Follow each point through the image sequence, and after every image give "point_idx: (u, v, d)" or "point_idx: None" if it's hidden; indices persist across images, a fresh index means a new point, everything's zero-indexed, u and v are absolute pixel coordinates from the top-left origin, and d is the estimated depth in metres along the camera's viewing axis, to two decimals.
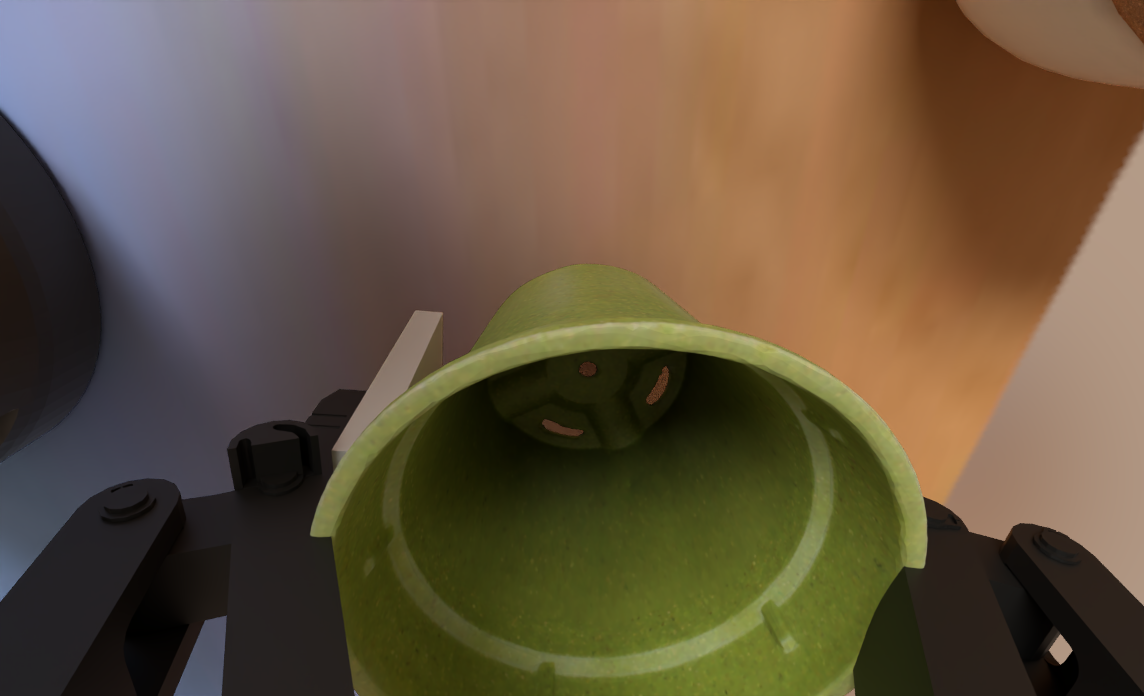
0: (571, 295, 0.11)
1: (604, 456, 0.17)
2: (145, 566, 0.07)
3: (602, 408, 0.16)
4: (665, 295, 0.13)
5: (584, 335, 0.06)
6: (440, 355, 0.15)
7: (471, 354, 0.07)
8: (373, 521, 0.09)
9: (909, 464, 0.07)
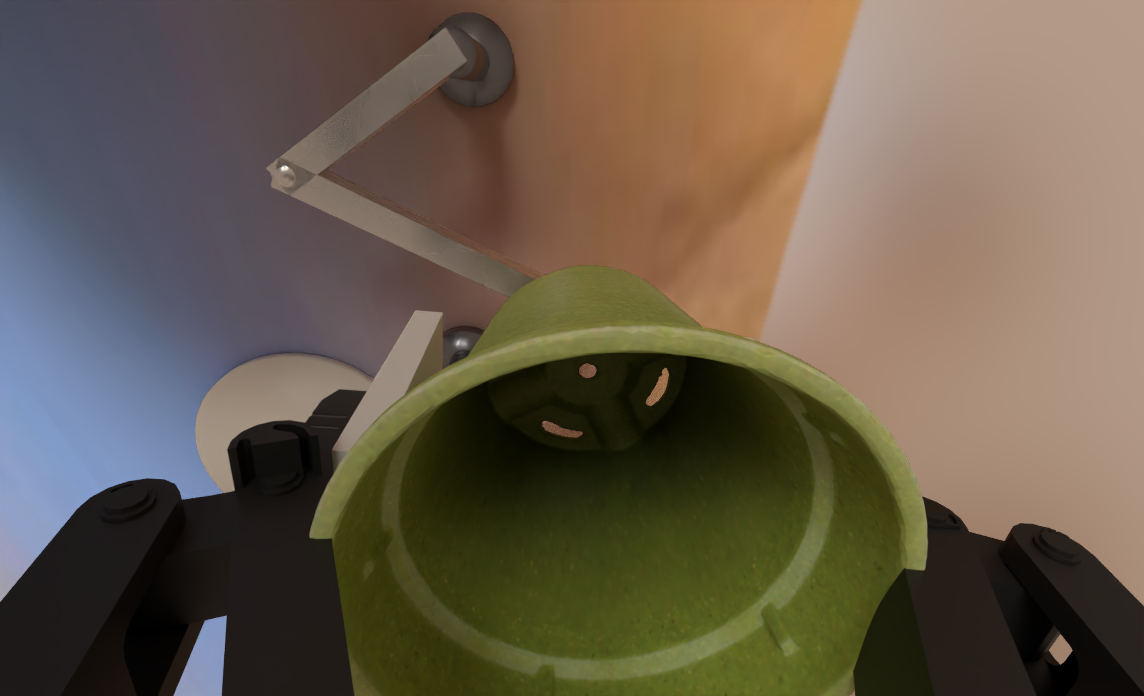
0: (571, 297, 0.11)
1: (604, 458, 0.17)
2: (145, 566, 0.07)
3: (602, 410, 0.16)
4: (665, 297, 0.13)
5: (583, 339, 0.06)
6: (440, 355, 0.15)
7: (470, 358, 0.07)
8: (372, 523, 0.09)
9: (909, 468, 0.07)
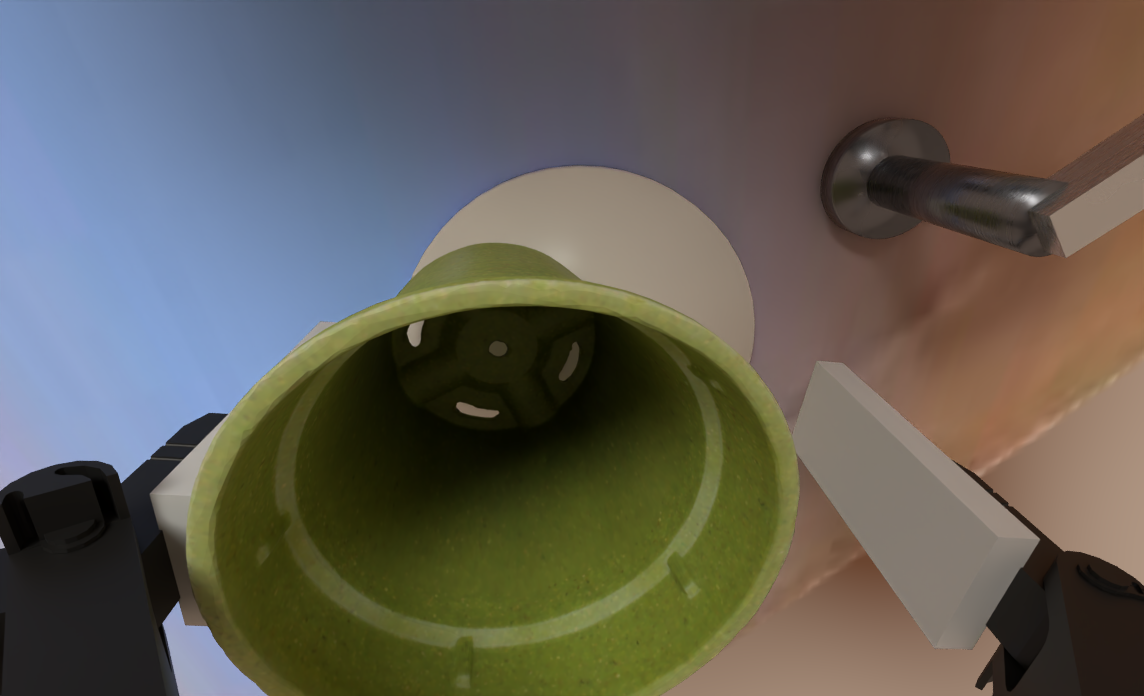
0: (466, 269, 0.11)
1: (520, 435, 0.17)
2: None
3: (515, 387, 0.16)
4: (566, 269, 0.14)
5: (458, 294, 0.06)
6: None
7: (345, 320, 0.07)
8: (264, 507, 0.09)
9: (776, 404, 0.08)
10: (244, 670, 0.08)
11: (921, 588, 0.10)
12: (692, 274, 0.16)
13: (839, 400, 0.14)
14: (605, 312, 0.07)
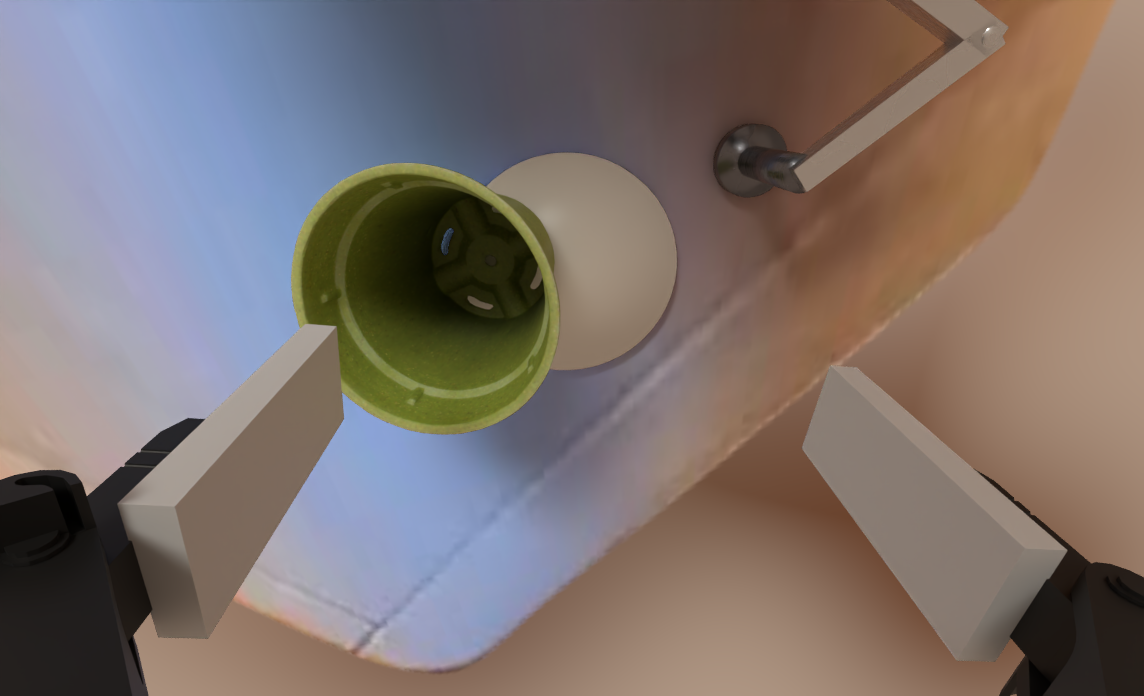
0: None
1: (504, 322, 0.27)
2: None
3: (501, 288, 0.26)
4: (518, 205, 0.23)
5: (388, 167, 0.17)
6: (334, 374, 0.14)
7: None
8: (328, 278, 0.20)
9: (533, 236, 0.17)
10: None
11: (942, 598, 0.10)
12: (635, 219, 0.26)
13: (854, 406, 0.13)
14: (446, 180, 0.16)
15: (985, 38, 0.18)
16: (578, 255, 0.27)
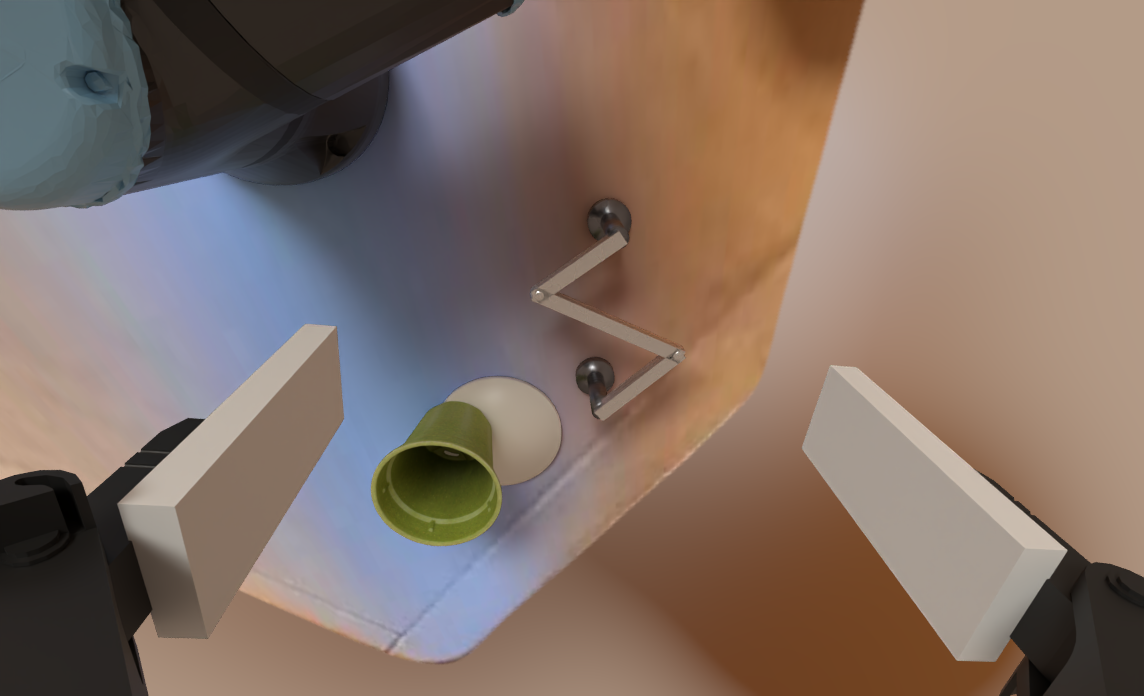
0: (433, 422, 0.42)
1: (466, 463, 0.48)
2: None
3: None
4: (470, 414, 0.44)
5: (418, 443, 0.37)
6: (334, 374, 0.14)
7: (399, 447, 0.37)
8: (384, 480, 0.40)
9: (486, 464, 0.38)
10: (379, 514, 0.40)
11: (942, 598, 0.10)
12: (534, 408, 0.46)
13: (854, 406, 0.13)
14: (445, 446, 0.37)
15: (675, 356, 0.38)
16: (504, 427, 0.47)
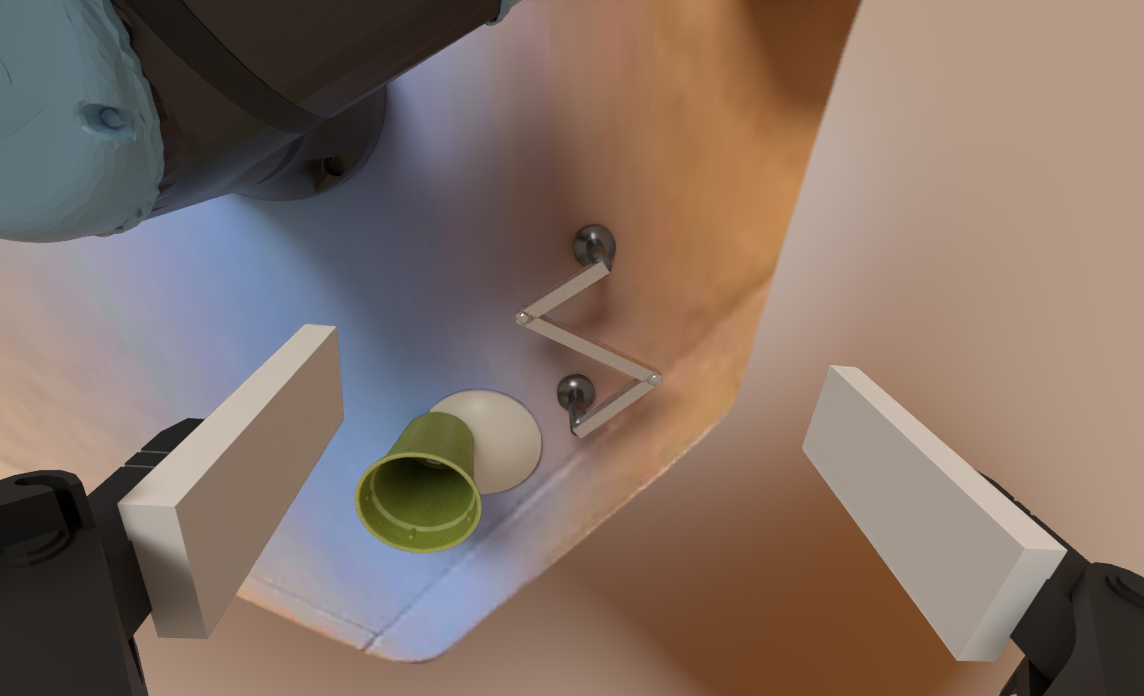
0: (417, 432, 0.43)
1: (448, 471, 0.49)
2: None
3: None
4: (453, 425, 0.45)
5: (402, 455, 0.39)
6: (334, 374, 0.14)
7: (383, 457, 0.39)
8: (367, 488, 0.41)
9: (467, 476, 0.40)
10: (362, 521, 0.41)
11: (942, 598, 0.10)
12: (516, 421, 0.48)
13: (854, 406, 0.13)
14: (428, 458, 0.39)
15: (652, 380, 0.40)
16: (486, 438, 0.48)
